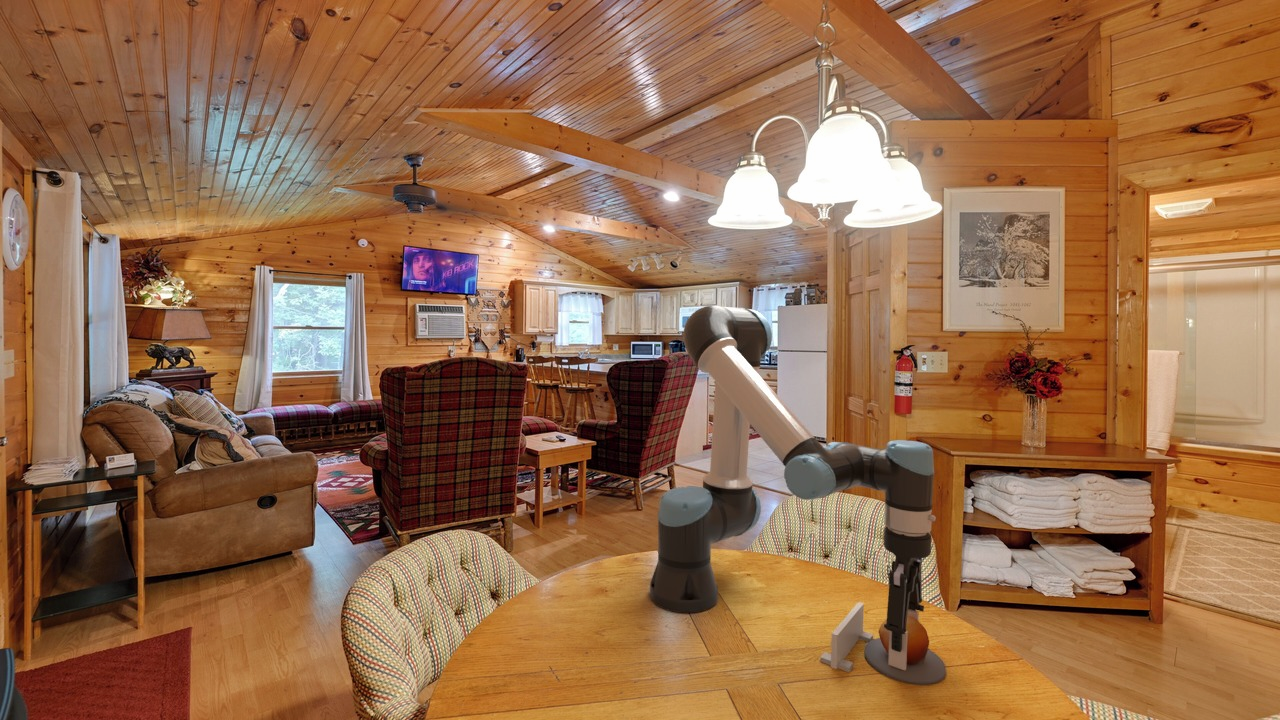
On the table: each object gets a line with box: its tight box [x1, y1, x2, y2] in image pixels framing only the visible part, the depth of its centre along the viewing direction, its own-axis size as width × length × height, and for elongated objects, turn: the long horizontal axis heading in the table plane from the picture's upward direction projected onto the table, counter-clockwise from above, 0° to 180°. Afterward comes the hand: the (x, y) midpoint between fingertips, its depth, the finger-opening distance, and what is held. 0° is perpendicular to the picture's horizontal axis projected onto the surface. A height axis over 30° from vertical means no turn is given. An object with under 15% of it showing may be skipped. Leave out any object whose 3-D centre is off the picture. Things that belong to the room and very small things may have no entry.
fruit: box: [878, 616, 930, 665], centre depth 96 cm, size 8×8×8 cm
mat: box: [863, 637, 947, 686], centre depth 96 cm, size 13×13×1 cm
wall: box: [820, 601, 874, 673], centre depth 100 cm, size 5×15×6 cm, turn 141°
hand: (903, 655), depth 96 cm, fingers closed on fruit, 8 cm apart
